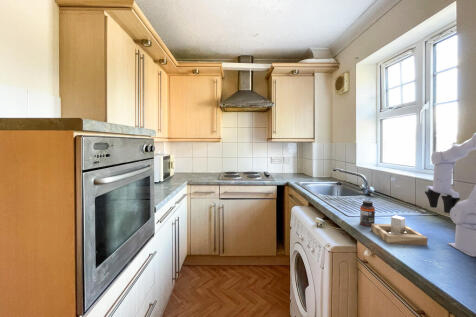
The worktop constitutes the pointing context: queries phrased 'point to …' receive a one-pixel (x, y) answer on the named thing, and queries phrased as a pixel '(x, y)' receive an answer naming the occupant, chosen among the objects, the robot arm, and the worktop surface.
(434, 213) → the worktop surface
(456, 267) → the worktop surface
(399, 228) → the stepped metal bar
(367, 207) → the supplement bottle
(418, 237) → the well block
